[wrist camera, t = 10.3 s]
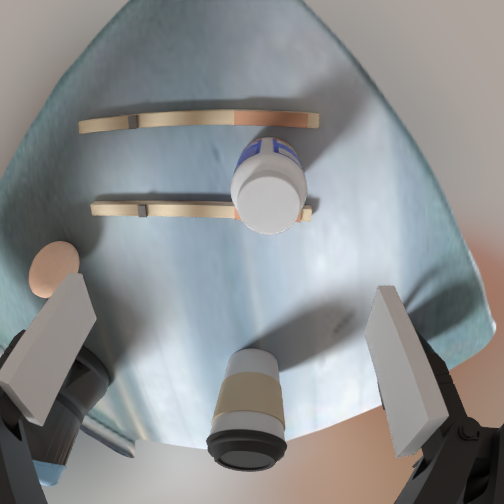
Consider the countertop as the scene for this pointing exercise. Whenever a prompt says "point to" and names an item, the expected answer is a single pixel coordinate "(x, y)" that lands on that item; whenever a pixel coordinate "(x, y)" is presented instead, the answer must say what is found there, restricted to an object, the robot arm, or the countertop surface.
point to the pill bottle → (269, 186)
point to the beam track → (192, 118)
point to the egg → (52, 267)
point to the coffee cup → (249, 414)
